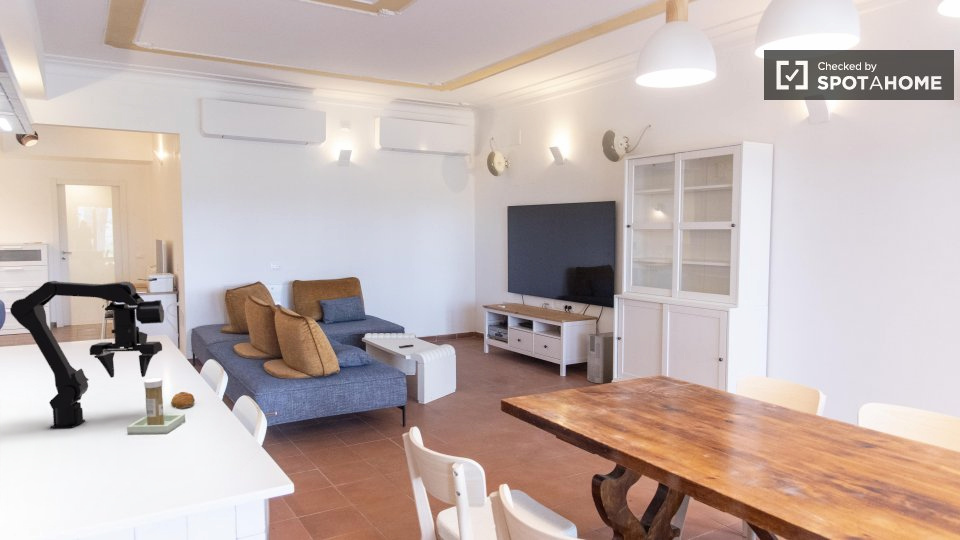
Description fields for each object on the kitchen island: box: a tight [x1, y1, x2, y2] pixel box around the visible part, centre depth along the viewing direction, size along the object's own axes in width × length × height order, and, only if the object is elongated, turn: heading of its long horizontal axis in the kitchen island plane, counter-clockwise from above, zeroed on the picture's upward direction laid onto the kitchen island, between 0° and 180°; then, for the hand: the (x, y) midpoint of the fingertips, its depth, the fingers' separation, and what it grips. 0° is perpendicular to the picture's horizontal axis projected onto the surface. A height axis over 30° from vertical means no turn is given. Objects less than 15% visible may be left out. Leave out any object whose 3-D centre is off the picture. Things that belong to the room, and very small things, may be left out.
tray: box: [126, 413, 186, 435], centre depth 185 cm, size 11×11×2 cm
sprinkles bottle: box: [143, 377, 165, 425], centre depth 184 cm, size 5×5×13 cm
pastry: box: [170, 391, 196, 410], centre depth 208 cm, size 9×7×4 cm
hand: (127, 377), depth 192 cm, fingers open, 9 cm apart
